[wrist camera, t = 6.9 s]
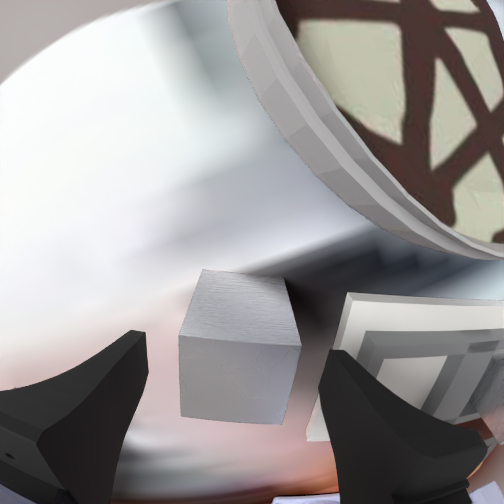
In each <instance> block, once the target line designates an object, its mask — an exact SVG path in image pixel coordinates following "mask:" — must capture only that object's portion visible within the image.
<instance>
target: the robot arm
mask: <svg viewBox="0 0 504 504" xmlns="http://www.w3.org/2000/svg"><path fill="white" fill-rule="evenodd" d="M148 373H149V370H148V359H147V347H146V332H141V331H135V330H130V331H129V332H127V333H126V334H124V335H123V336H122V337H120V338H119V339H117V340H116V341H115V342H113V343H112V344H111V345H109V346H108V347H106V348H105V349H103V350H102V351H101V352H99V353H98V354H96V355H94V356H93V357H91V358H90V359H88V360H86V361H85V362H83V363H81V364H80V365H78V366H76V367H74V368H72V369H70V370H68V371H66V372H64V373H62V374H60V375H58V376H55V377H52V378H50V379H47V380H44V381H42V382H39V383H36V384H32V385H29V386H25V387H21V388H16V389H11V390H5V391H0V504H110V498H111V493H112V487H113V481H114V476H115V472H116V467H117V463H118V459H119V455H120V451H121V447H122V443H123V440H124V438H125V435H126V432H127V430H128V427H129V425H130V423H131V420H132V418H133V416H134V413H135V411H136V409H137V406H138V404H139V401H140V399H141V397H142V394H143V391H144V388H145V384H146V380H147V377H148ZM318 389H319V397H320V404H321V410H322V414H323V417H324V421H325V424H326V428H327V431H328V435H329V438H330V441H331V445H332V448H333V452H334V457H335V462H336V469H337V476H338V485H339V493H336V494H325V495H312V496H292V497H276V498H274V500H273V502H272V504H504V496H503V494H502V492H501V491H500V489H499V487H498V485H497V483H496V482H495V481H493V482H491V483H488V484H486V485H484V486H482V487H480V488H478V489H476V490H474V491H472V492H471V493H470V494H468V493H467V490H466V488H468V487H469V482H468V480H467V478H468V476H469V475H470V474H471V473H472V472H473V471H474V470H475V469H476V468H477V467H478V465H479V464H480V463H481V462H482V461H483V459H484V458H485V456H486V454H487V451H488V447H487V445H486V443H485V442H484V440H483V439H482V437H481V435H480V434H479V432H478V431H474V430H470V429H466V428H463V427H459V426H456V425H453V424H450V423H448V422H445V421H442V420H440V419H438V418H435V417H433V416H431V415H429V414H427V413H425V412H423V411H421V410H419V409H418V408H416V407H414V406H412V405H411V404H409V403H408V402H406V401H405V400H403V399H401V398H400V397H399V396H397V395H396V394H394V393H393V392H392V391H391V390H389V389H388V388H387V387H385V386H384V385H383V384H382V383H381V382H379V381H378V380H377V379H376V378H375V377H374V376H372V375H371V374H370V373H369V372H368V371H367V370H366V369H365V368H364V367H363V366H362V365H360V364H359V363H358V362H357V361H356V360H355V359H354V358H353V357H352V356H351V355H350V354H349V353H347V352H346V351H345V350H331V349H330V351H329V354H328V358H327V361H326V364H325V368H324V371H323V374H322V377H321V381H320V384H319V387H318Z"/></svg>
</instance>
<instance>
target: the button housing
mask: <svg viewBox="0 0 504 504" xmlns="http://www.w3.org/2000/svg"><path fill="white" fill-rule="evenodd" d="M455 425H456V426H459V427H463V428H466V429H470V430H474V431H478V432H479V434H480V435H481V437H482V439H483V440H484V442H485V443H486V445H487V447H488V451H487V454H486V456H485V458H486V457H487V456H488V455H489V453H490V452H491V451H492V450H493V449H494V447H495V446H496V445H497V443H498V441H497V439H496V438H495V436H494V435H493V433H492V432H491V430H490V429H489V428H488V426H487V425H486V423H485V422H484V421H483V419H482V418H477V419H474V420H470V421H466V422H463V423H459V424H455ZM485 458H484V459H485ZM484 459H483V461H484ZM483 461H482V462H483Z"/></svg>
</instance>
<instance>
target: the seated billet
mask: <svg viewBox="0 0 504 504" xmlns="http://www.w3.org/2000/svg"><path fill="white" fill-rule="evenodd" d="M469 401H470V402H471V404H472V405H473V407H474V408H475V409H476V411H477V412H478V413H479V415H480V416H481V418H482V419H483V421H484V422H485V423H486V425H487V426H488V428H489V429H490V430H491V432H492V433H493V435H494V436H495V438H496V439H497V441H498V442H499V444H500V445H502V444H504V350H496V351H495V352H494V354H493V356H492V358H491V360H490V362H489V364H488V366H487V368H486V370H485V372H484V374H483V376H482V377H481V379H480V381H479V383H478V385H477V387H476V388H475V390H474V392H473V394H472V395H471V397H470V399H469Z"/></svg>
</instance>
